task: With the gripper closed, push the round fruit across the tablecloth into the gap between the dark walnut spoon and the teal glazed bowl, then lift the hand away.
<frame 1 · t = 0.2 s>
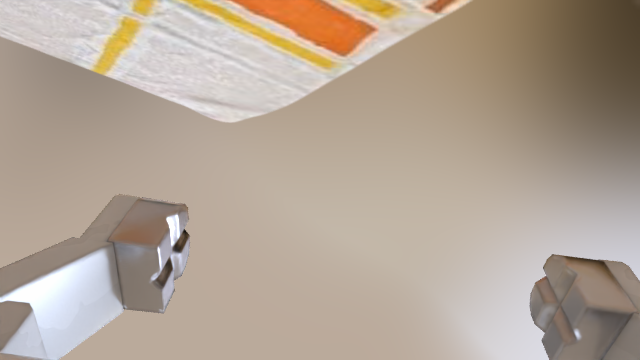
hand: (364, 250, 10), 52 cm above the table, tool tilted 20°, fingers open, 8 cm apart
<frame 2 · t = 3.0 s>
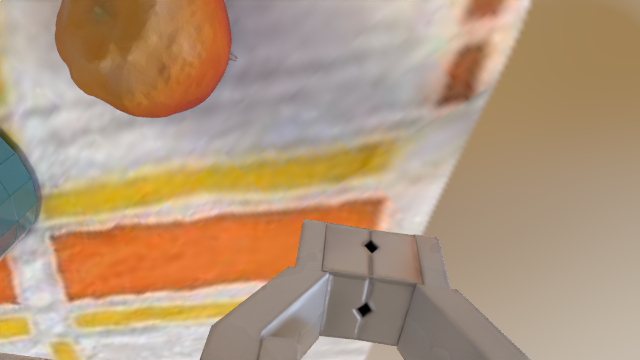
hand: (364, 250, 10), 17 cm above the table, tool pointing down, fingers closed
fruit: (175, 15, 25), on the table
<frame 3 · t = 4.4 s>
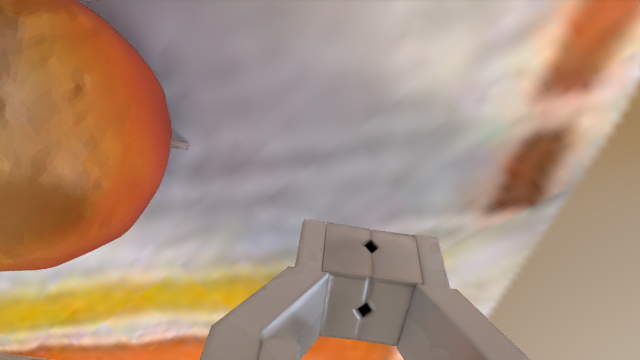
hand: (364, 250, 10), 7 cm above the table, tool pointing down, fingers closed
fruit: (93, 83, 16), on the table
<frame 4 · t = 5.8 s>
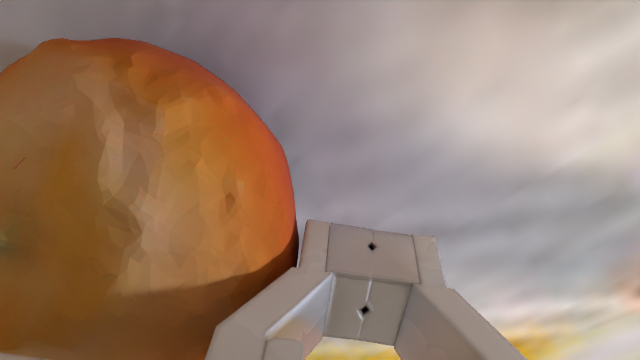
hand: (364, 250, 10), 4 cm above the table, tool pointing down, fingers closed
fruit: (184, 147, 14), on the table, touching gripper
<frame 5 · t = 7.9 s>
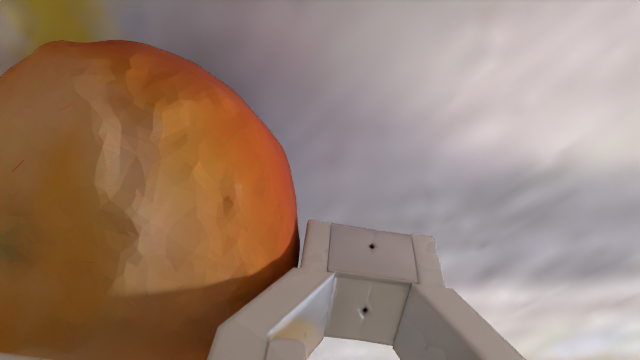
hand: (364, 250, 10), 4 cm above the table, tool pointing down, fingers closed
fruit: (188, 148, 14), on the table, touching gripper
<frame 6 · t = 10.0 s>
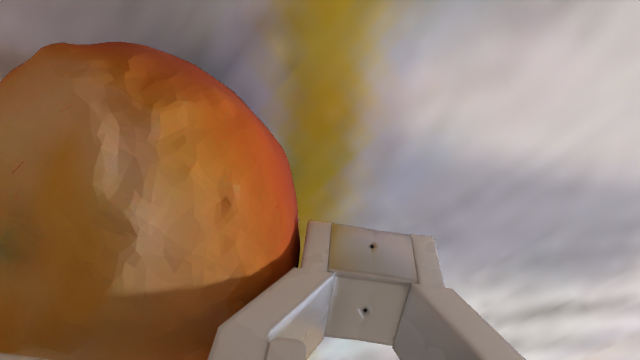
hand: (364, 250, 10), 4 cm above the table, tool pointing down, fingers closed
fruit: (190, 149, 14), on the table, touching gripper
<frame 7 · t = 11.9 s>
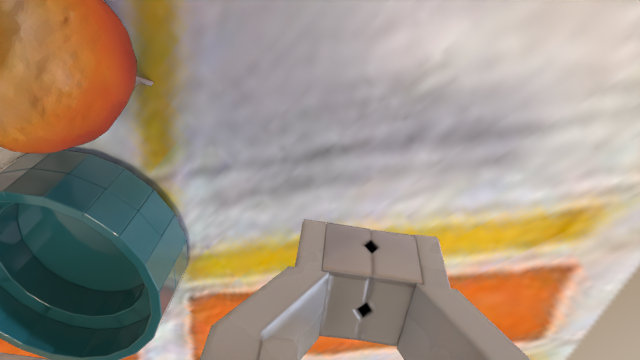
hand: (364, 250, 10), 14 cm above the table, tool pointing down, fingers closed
bowl: (94, 232, 29), on the table
fruit: (83, 37, 23), on the table
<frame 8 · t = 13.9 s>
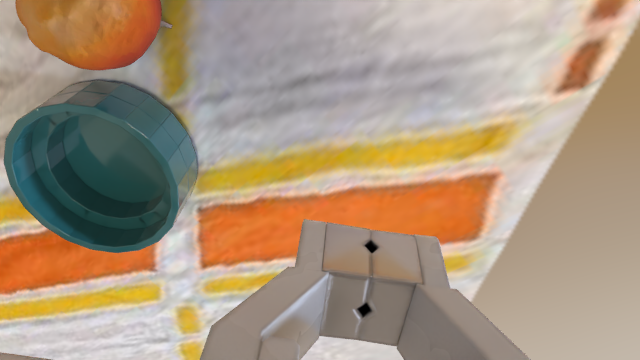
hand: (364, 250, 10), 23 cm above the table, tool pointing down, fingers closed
bowl: (123, 152, 37), on the table
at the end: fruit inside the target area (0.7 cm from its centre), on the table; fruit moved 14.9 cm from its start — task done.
